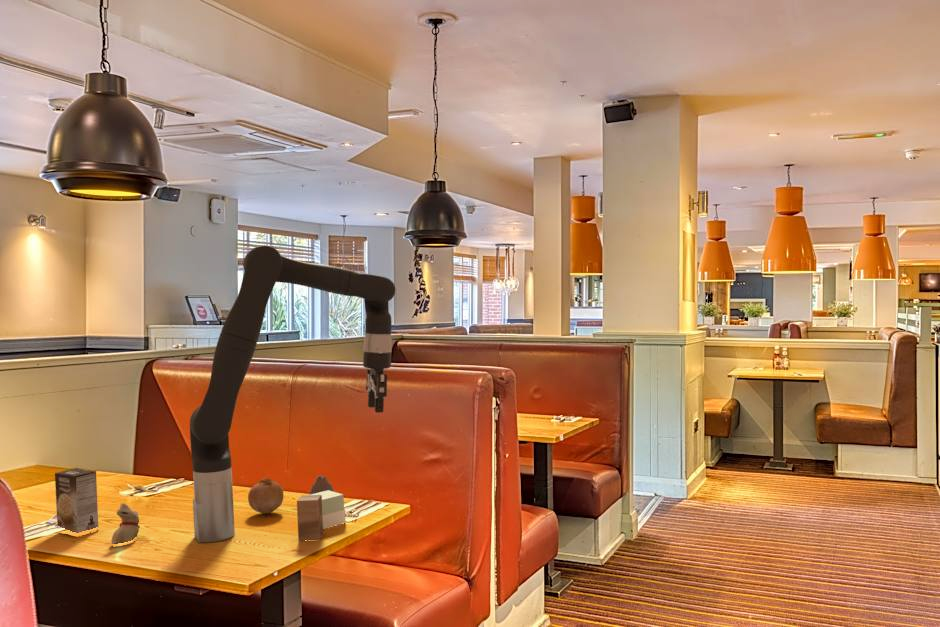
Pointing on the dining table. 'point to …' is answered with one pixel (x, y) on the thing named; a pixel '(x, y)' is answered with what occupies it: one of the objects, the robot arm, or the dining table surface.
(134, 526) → the chocolate bunny
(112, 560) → the dining table surface
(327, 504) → the tower mid
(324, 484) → the vase
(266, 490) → the onion
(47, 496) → the dining table surface
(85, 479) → the coffee box
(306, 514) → the column
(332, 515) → the tower base
